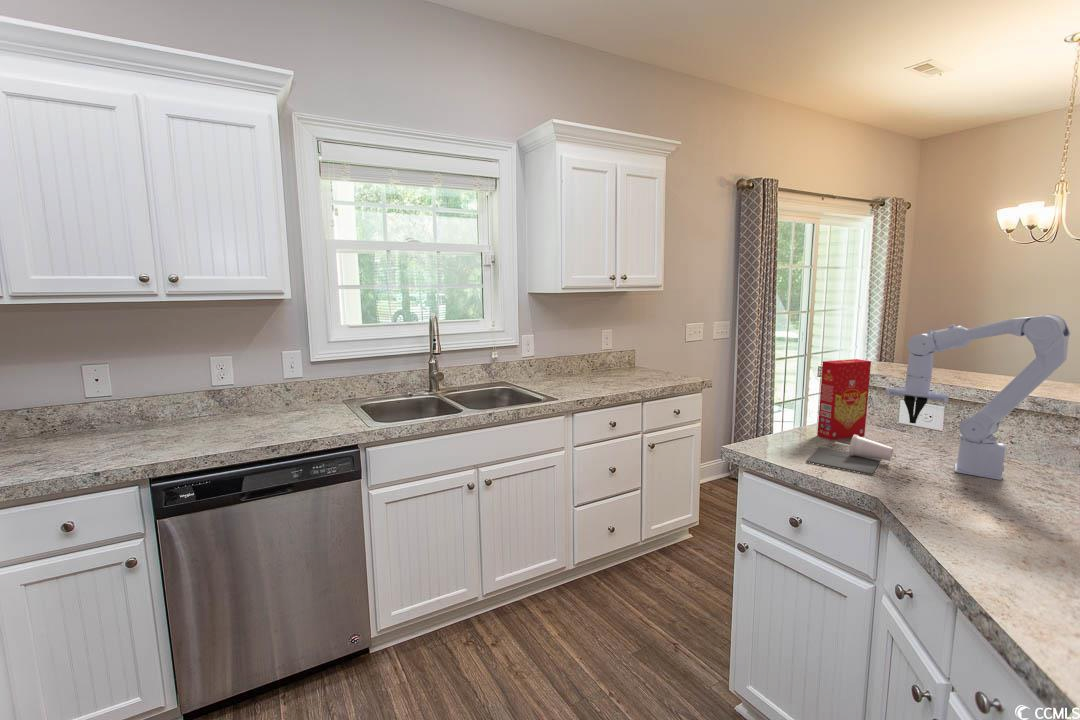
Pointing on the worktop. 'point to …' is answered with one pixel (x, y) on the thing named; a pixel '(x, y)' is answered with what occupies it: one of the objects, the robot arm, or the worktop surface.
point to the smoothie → (868, 448)
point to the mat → (843, 460)
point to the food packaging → (843, 398)
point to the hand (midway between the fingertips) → (912, 422)
